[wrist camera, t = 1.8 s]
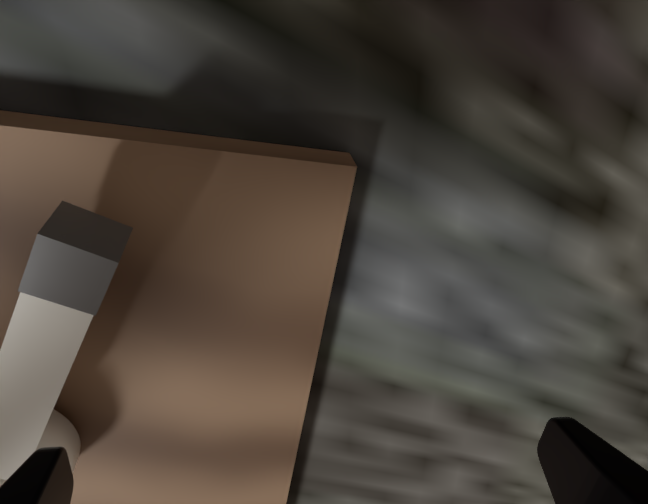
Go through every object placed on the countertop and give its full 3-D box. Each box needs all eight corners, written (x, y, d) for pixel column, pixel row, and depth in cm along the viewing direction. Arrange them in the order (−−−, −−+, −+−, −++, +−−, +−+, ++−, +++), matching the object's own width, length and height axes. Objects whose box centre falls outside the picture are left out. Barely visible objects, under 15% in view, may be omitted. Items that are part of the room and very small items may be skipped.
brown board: (266, 565, 26) (268, 595, 24) (-199, 588, 21) (-225, 625, 20) (349, 152, 15) (358, 169, 14) (-530, 45, 11) (-624, 56, 10)
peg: (59, 494, 19) (33, 571, 16) (-75, 469, 17) (-127, 550, 15) (188, 229, 14) (177, 283, 12) (18, 161, 12) (-35, 208, 10)
